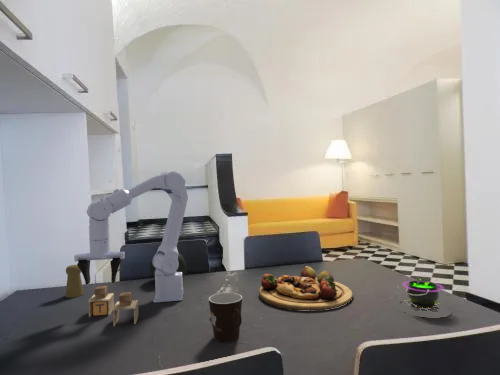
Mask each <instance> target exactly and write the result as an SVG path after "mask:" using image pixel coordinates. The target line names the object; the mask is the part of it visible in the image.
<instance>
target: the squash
mask: <svg viewBox="0 0 500 375" xmlns="http://www.w3.org/2000/svg"><path fill="white" fill-rule="evenodd" d="M178 253H179V252H178ZM152 260H153V258H152V259H151V260H150V264H149V271H150V274H151V277H152V278H153V279H154V280H155V271H156V268H155V267H154V266H153V263H152ZM178 262H179V266H178V269H177V270H176V272H182V279H183V278H184V276H185V275H186V272H187V264H186V260H185V257H184V256H183V255H182V254H181V253H179V254H178Z"/></svg>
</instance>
